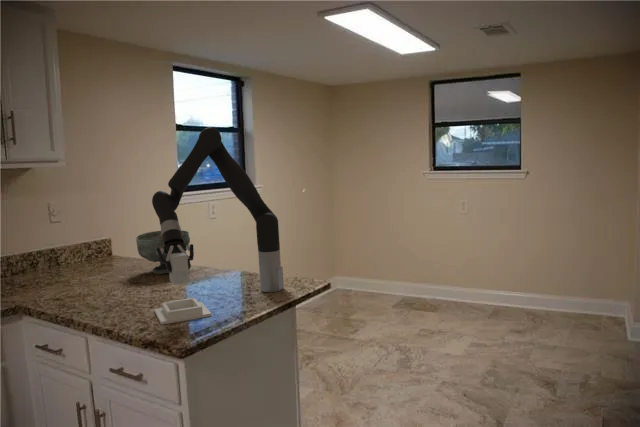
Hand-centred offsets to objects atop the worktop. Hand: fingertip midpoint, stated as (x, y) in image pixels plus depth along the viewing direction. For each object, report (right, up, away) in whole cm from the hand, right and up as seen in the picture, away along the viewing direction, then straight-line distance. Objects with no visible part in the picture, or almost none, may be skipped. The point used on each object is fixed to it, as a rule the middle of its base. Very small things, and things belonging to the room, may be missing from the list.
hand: (179, 270), depth 196 cm
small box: (-1, -5, +2) cm, 5 cm away
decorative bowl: (-28, -9, +80) cm, 85 cm away
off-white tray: (0, -17, +3) cm, 17 cm away
